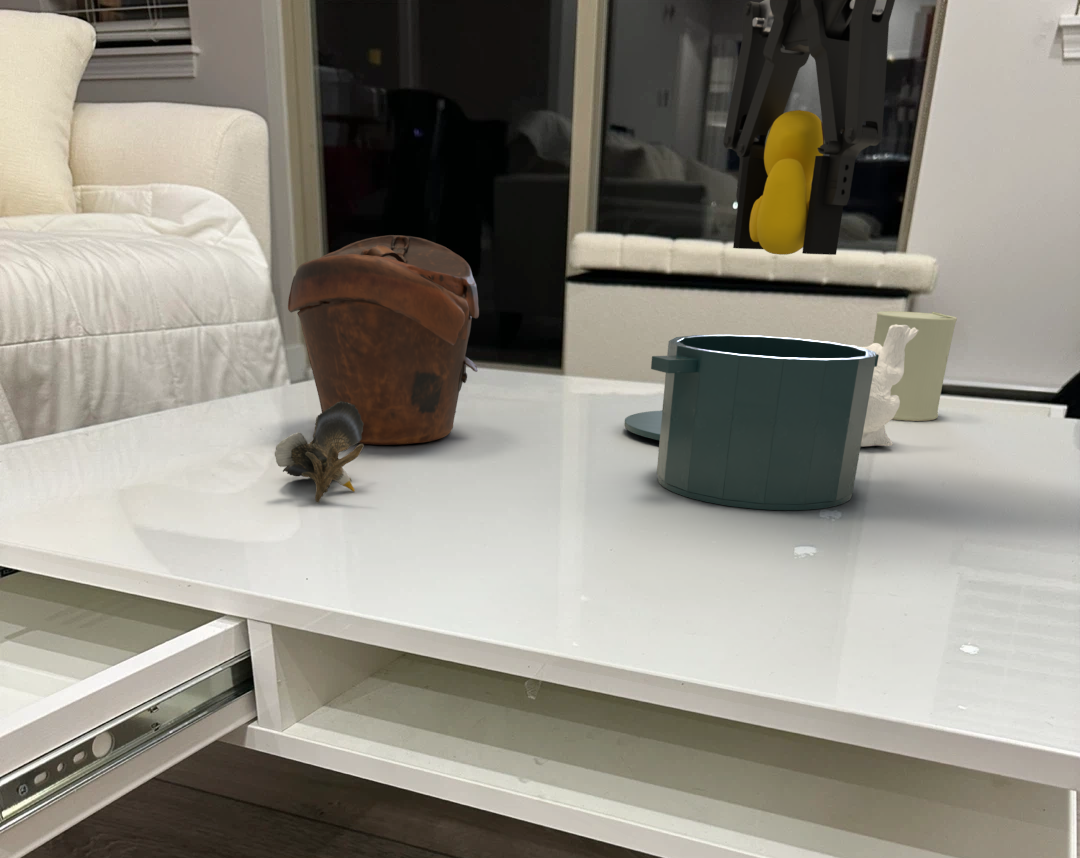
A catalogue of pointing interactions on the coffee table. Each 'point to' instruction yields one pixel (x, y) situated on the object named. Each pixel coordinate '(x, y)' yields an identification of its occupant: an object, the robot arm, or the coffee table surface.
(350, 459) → the eagle figurine
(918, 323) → the green tapered cup
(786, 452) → the pot
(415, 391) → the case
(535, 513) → the coffee table surface
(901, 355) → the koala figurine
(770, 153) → the duckling
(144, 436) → the coffee table surface
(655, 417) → the lid
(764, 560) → the coffee table surface
